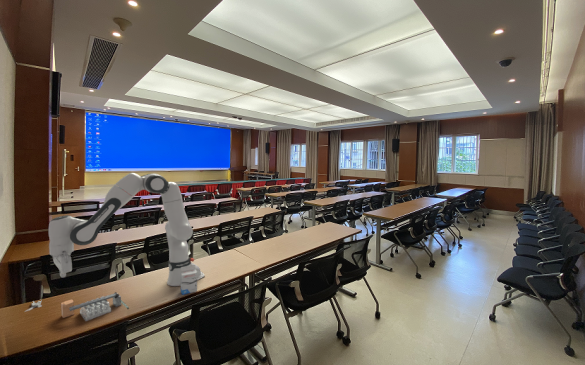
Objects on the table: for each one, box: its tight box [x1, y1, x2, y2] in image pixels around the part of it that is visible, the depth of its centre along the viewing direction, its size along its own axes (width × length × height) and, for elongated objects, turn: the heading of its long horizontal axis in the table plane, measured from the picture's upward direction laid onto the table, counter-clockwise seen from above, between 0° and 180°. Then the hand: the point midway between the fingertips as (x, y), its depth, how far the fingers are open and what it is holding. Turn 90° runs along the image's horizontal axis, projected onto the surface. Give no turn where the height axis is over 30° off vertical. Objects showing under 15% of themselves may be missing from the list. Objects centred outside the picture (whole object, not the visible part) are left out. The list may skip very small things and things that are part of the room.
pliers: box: [24, 300, 42, 313], centre depth 127 cm, size 10×2×15 cm
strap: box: [69, 291, 120, 311], centre depth 123 cm, size 19×4×1 cm, turn 142°
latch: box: [60, 298, 75, 319], centre depth 120 cm, size 4×6×7 cm, turn 52°
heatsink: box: [79, 294, 122, 322], centre depth 125 cm, size 15×10×5 cm, turn 142°
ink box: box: [180, 264, 198, 295], centre depth 146 cm, size 8×5×15 cm, turn 123°
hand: (63, 276), depth 123 cm, fingers closed
